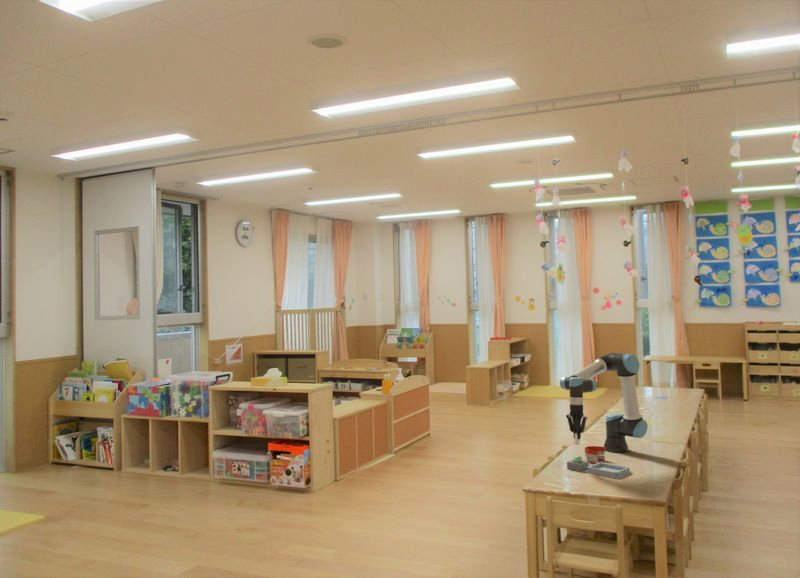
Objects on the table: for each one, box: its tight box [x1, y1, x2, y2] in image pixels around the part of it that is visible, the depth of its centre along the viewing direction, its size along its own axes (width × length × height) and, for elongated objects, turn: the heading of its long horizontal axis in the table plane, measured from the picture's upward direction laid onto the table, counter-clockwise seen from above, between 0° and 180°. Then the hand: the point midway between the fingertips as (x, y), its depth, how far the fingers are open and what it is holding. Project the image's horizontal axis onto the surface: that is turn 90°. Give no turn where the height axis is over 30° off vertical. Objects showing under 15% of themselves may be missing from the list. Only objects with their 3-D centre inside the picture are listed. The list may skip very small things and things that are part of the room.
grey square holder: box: [566, 459, 590, 472], centre depth 369 cm, size 9×9×4 cm
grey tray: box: [584, 461, 632, 480], centre depth 359 cm, size 16×20×3 cm
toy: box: [584, 445, 606, 465], centre depth 385 cm, size 12×10×8 cm
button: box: [573, 455, 583, 463], centre depth 369 cm, size 4×4×4 cm
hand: (577, 444), depth 369 cm, fingers closed
